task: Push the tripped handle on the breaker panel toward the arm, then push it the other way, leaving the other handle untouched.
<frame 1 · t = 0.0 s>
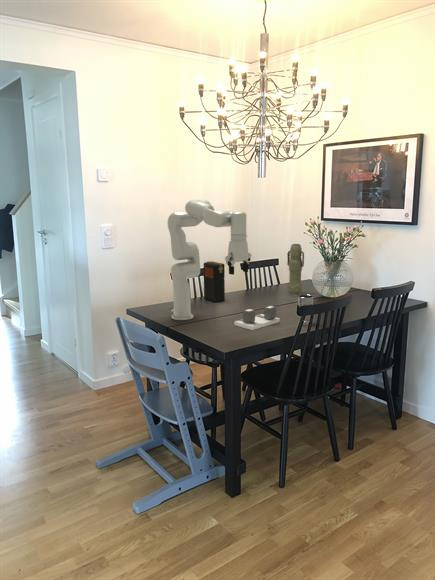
hand: (238, 273, 226), 31 cm above the table, tool pointing down, fingers open, 9 cm apart
olive green tall statue: (294, 294, 321), on the table
tripped handle: (249, 315, 246), point 6 cm above the table, slide at 0.0 cm
other handle: (270, 312, 252), point 6 cm above the table, slide at 3.4 cm
breaker panel: (257, 323, 251), on the table
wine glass: (304, 323, 251), on the table
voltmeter: (214, 300, 308), on the table
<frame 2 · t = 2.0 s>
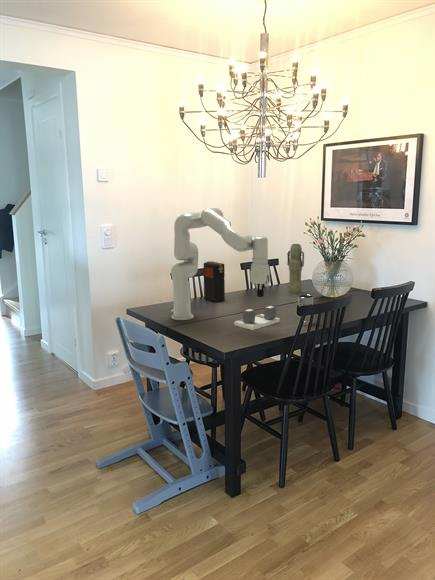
hand: (260, 296, 238), 17 cm above the table, tool pointing down, fingers closed
nothing on the table moved.
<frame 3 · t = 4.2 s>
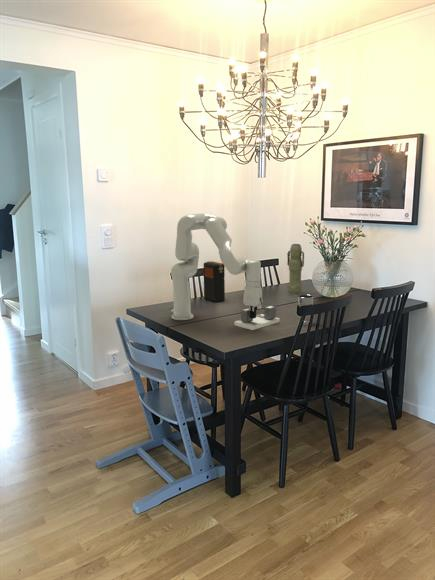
hand: (253, 317, 244), 5 cm above the table, tool pointing down, fingers closed
tripped handle: (247, 315, 247), point 6 cm above the table, slide at -1.5 cm, touching gripper
everything else where it was.
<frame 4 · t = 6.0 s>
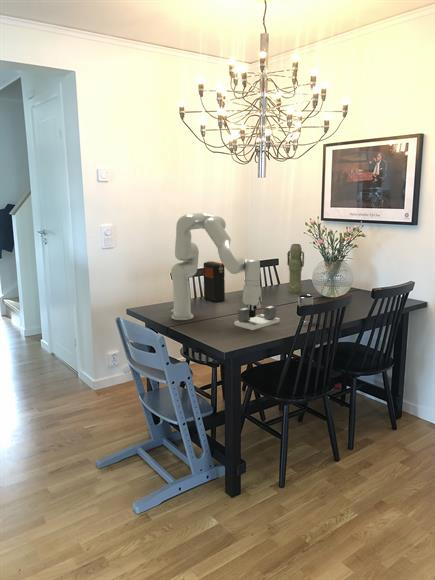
hand: (252, 317, 244), 5 cm above the table, tool pointing down, fingers closed
tripped handle: (244, 314, 248), point 6 cm above the table, slide at -3.6 cm
everything else where it was.
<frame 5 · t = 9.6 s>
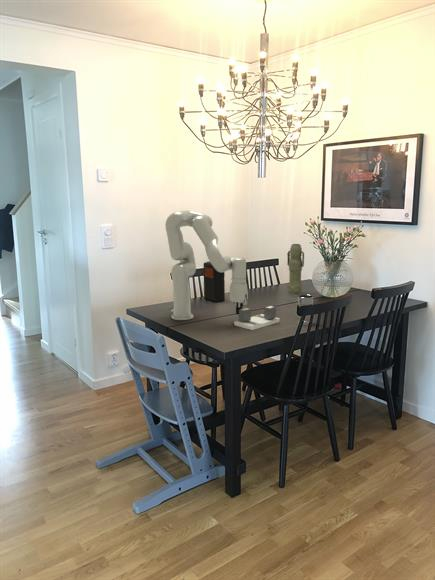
hand: (239, 313, 251), 5 cm above the table, tool pointing down, fingers closed
tripped handle: (244, 314, 248), point 6 cm above the table, slide at -3.1 cm, touching gripper
everything else where it was.
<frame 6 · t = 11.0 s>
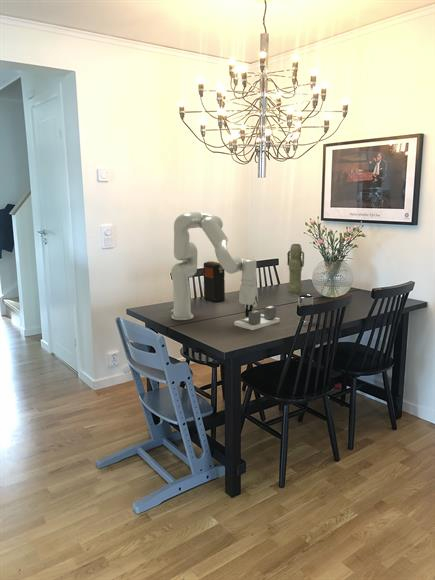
hand: (248, 316, 246), 5 cm above the table, tool pointing down, fingers closed
tripped handle: (254, 317, 243), point 6 cm above the table, slide at 3.9 cm, touching gripper
everything else where it was.
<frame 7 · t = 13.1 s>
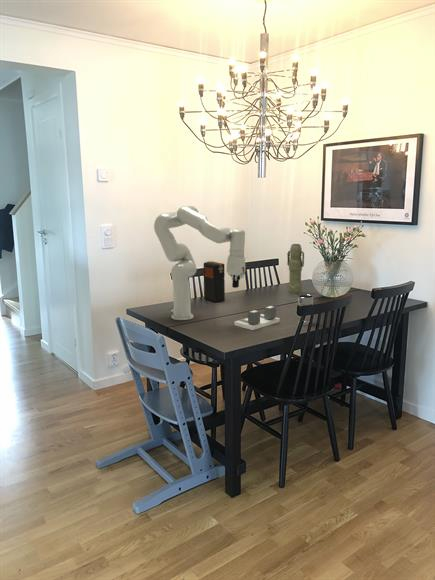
hand: (235, 287, 247), 20 cm above the table, tool pointing down, fingers closed
tripped handle: (254, 317, 243), point 6 cm above the table, slide at 3.6 cm
everything else where it was.
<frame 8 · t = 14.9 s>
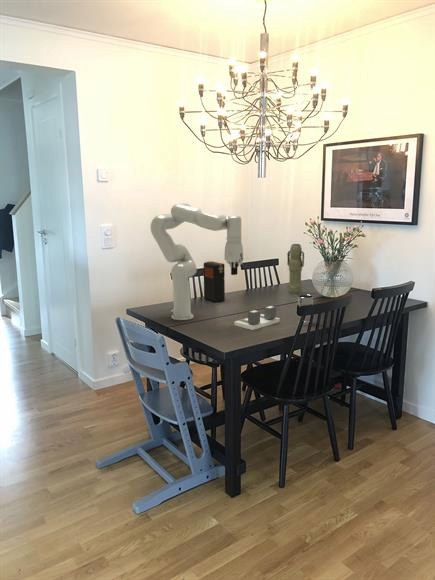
hand: (234, 274, 246), 27 cm above the table, tool pointing down, fingers closed
nothing on the table moved.
at the end: tripped handle slide at 3.6 cm; other handle slide at 3.4 cm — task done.
